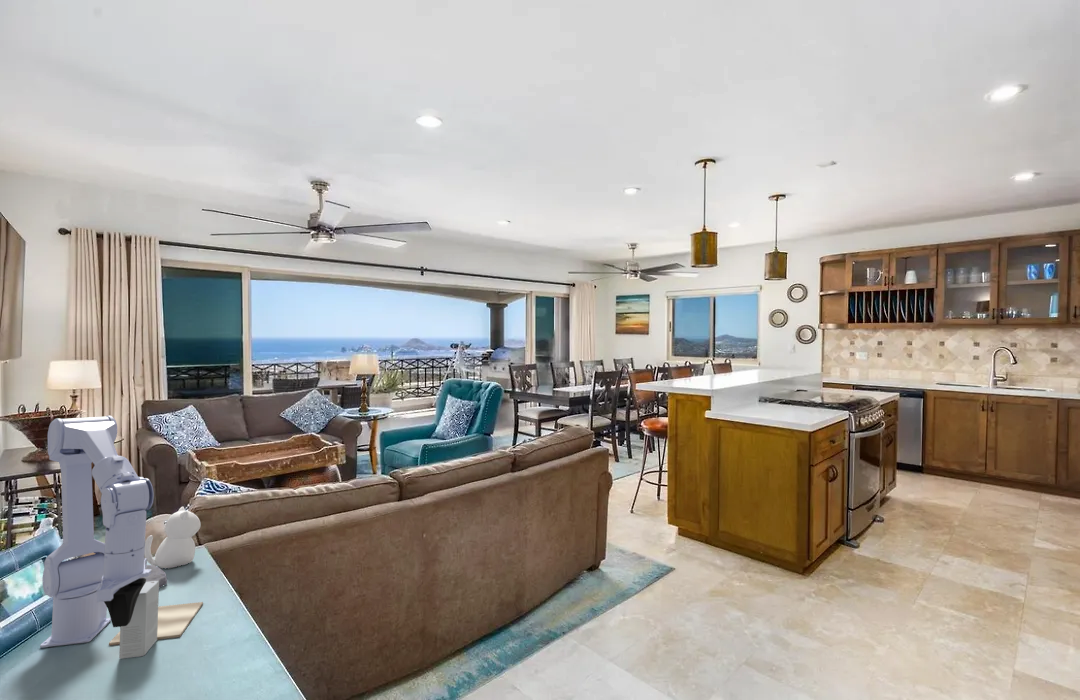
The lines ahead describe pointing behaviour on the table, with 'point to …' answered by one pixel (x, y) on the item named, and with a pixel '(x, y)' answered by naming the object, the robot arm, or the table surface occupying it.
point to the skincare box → (141, 623)
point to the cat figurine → (175, 541)
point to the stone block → (156, 575)
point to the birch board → (171, 620)
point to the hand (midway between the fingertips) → (121, 624)
